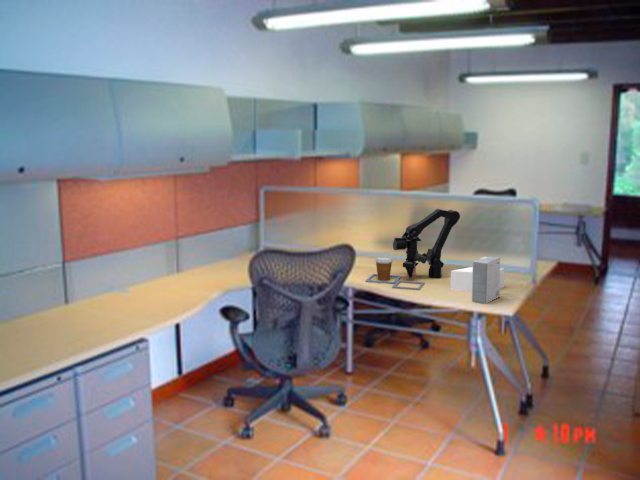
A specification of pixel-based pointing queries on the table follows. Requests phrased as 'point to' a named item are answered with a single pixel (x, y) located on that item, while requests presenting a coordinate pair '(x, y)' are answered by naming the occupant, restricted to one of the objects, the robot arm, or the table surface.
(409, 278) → the block
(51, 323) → the table surface
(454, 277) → the white box
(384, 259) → the disposable coffee cup
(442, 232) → the robot arm
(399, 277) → the frame cup
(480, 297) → the hard drive box
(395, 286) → the frame empty
